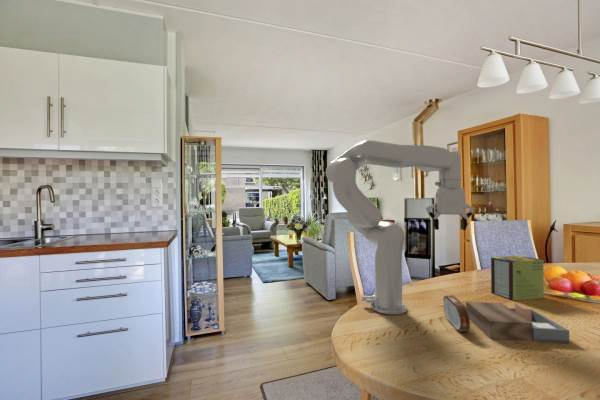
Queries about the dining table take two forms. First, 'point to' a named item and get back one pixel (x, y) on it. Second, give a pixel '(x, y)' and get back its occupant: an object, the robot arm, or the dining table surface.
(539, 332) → the box
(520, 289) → the protein box
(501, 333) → the brown flat block
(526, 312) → the terracotta tile
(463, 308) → the tin
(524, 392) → the dining table surface
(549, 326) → the cream tile
